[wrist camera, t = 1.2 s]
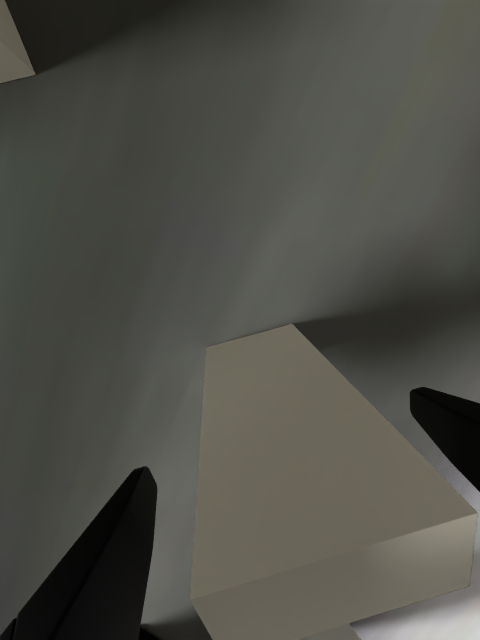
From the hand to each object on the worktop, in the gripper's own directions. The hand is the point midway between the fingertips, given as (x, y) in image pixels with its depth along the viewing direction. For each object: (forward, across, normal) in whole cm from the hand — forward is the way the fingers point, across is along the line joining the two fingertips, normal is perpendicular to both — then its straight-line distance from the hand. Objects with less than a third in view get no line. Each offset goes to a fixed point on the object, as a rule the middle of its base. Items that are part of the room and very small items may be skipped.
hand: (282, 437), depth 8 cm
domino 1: (+6, 0, 0) cm, 6 cm away
